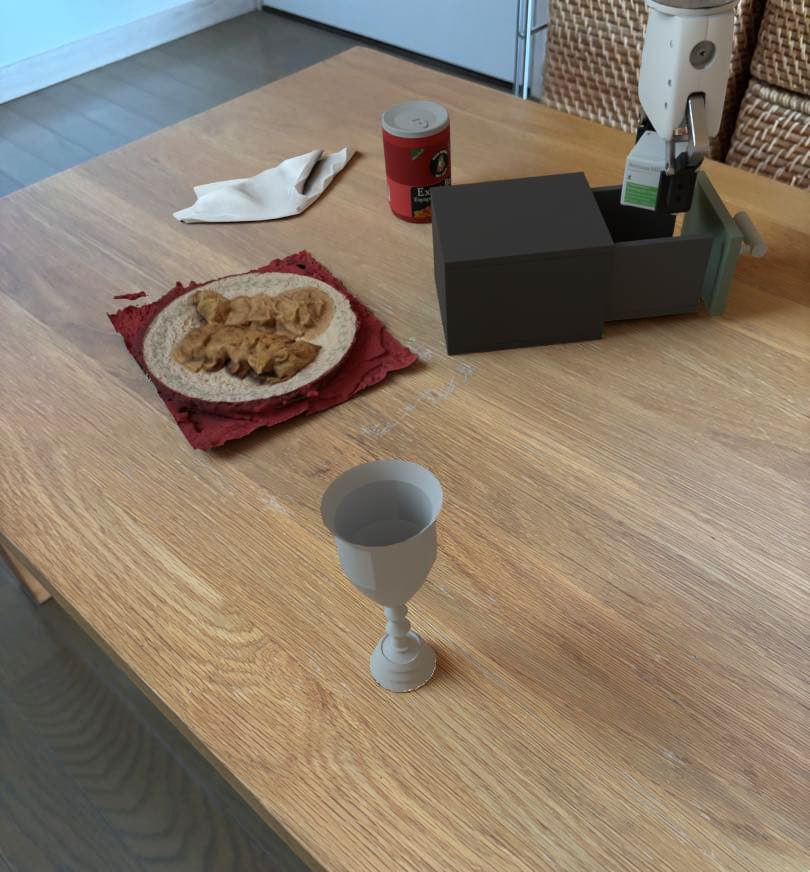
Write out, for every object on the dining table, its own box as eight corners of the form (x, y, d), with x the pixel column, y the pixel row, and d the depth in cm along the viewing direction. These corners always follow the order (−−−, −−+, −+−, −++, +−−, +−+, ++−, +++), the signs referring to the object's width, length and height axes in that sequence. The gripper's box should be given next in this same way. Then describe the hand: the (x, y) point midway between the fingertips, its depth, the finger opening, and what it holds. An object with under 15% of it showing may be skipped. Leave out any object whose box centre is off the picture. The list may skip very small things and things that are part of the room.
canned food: (419, 231, 102) (413, 139, 93) (375, 207, 106) (366, 116, 97) (466, 206, 104) (464, 114, 96) (422, 183, 109) (417, 93, 100)
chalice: (374, 719, 61) (344, 564, 48) (341, 646, 66) (303, 484, 52) (467, 680, 63) (463, 519, 49) (428, 611, 67) (415, 444, 53)
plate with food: (201, 467, 79) (192, 441, 77) (110, 323, 93) (99, 296, 91) (421, 372, 86) (420, 344, 83) (305, 251, 100) (301, 224, 98)
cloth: (188, 247, 103) (183, 230, 101) (163, 195, 111) (158, 178, 109) (389, 190, 108) (388, 173, 106) (351, 145, 116) (349, 128, 115)
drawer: (727, 243, 94) (746, 165, 87) (766, 311, 86) (790, 231, 79) (556, 261, 94) (561, 185, 87) (579, 331, 86) (587, 252, 80)
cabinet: (574, 263, 95) (583, 171, 87) (602, 339, 87) (614, 244, 78) (434, 278, 95) (430, 187, 87) (447, 355, 87) (444, 262, 79)
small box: (618, 206, 82) (625, 155, 78) (639, 177, 85) (646, 127, 81) (677, 218, 80) (687, 167, 76) (696, 188, 83) (706, 138, 79)
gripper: (781, 14, 63) (728, 234, 76) (709, -62, 74) (673, 142, 87) (678, 25, 63) (643, 243, 76) (622, -53, 74) (600, 149, 88)
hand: (660, 188), depth 82 cm, fingers closed on small box, 7 cm apart
